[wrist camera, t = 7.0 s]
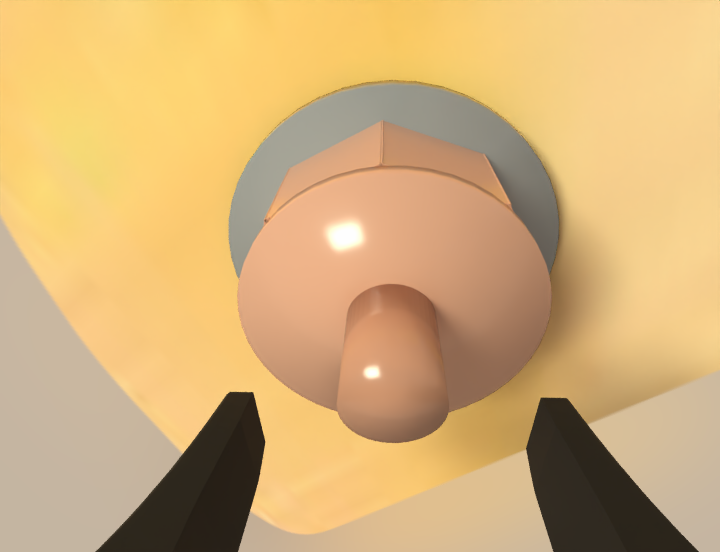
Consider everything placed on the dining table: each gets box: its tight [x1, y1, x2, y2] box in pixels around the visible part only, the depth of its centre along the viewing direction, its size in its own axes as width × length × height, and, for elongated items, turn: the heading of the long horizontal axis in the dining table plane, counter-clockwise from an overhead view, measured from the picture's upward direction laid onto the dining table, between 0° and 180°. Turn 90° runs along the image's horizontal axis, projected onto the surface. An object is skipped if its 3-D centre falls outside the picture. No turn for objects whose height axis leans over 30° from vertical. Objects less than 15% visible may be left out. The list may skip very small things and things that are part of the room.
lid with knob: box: [237, 120, 552, 443], centre depth 15 cm, size 10×10×8 cm
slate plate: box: [229, 80, 559, 278], centre depth 19 cm, size 13×13×1 cm
